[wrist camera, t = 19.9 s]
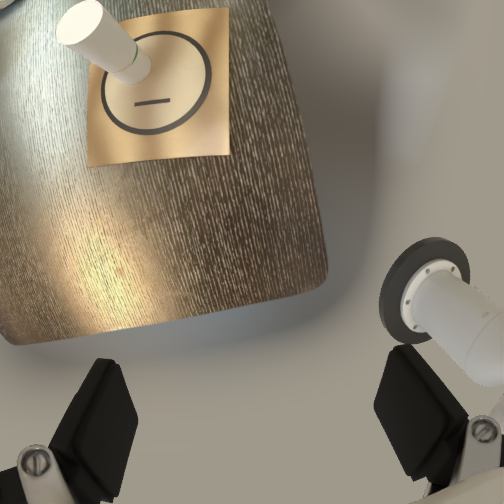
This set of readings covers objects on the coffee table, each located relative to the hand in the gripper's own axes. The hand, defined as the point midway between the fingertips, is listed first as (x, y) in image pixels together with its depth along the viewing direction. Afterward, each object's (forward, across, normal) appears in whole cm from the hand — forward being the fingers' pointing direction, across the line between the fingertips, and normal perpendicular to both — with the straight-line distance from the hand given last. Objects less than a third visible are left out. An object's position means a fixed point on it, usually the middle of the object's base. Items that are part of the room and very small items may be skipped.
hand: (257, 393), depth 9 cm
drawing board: (+28, +10, -18) cm, 35 cm away
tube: (+27, +12, -20) cm, 36 cm away
